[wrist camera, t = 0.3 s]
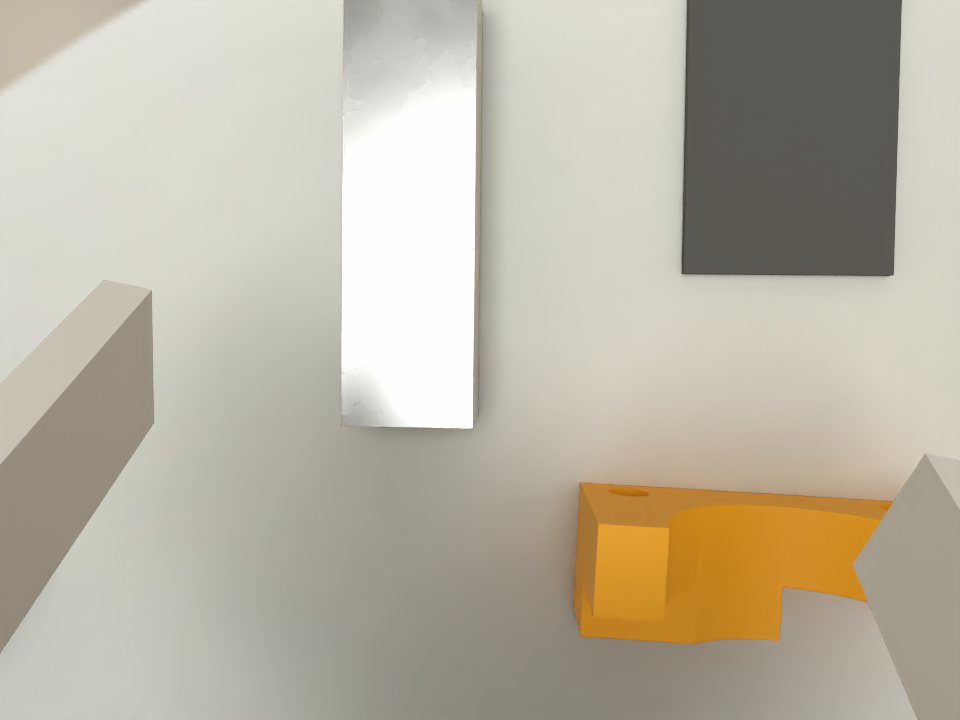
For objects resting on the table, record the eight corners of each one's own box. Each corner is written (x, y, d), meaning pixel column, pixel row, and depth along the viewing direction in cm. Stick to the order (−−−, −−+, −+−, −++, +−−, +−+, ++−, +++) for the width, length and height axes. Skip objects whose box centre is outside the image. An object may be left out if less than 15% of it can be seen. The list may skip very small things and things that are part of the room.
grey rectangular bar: (478, 414, 29) (472, 427, 25) (365, 412, 29) (341, 426, 25) (482, 10, 28) (477, -42, 24) (367, 11, 28) (343, -41, 24)
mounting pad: (888, 275, 28) (893, 274, 28) (681, 273, 28) (684, 272, 28) (900, -142, 27) (906, -149, 27) (690, -140, 28) (693, -146, 27)
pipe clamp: (573, 603, 29) (589, 679, 23) (579, 481, 29) (598, 524, 22) (917, 625, 29) (1034, 710, 22) (925, 502, 28) (1046, 551, 22)
